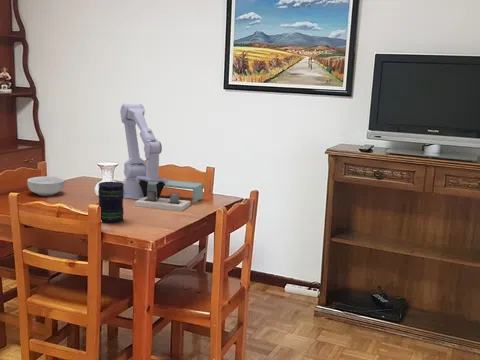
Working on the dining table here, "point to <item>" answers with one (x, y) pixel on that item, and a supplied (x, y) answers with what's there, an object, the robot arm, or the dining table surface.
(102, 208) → the storage jar
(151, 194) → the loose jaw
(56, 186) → the cereal bowl
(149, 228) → the dining table surface
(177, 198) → the block
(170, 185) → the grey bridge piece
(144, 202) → the grey base plate
